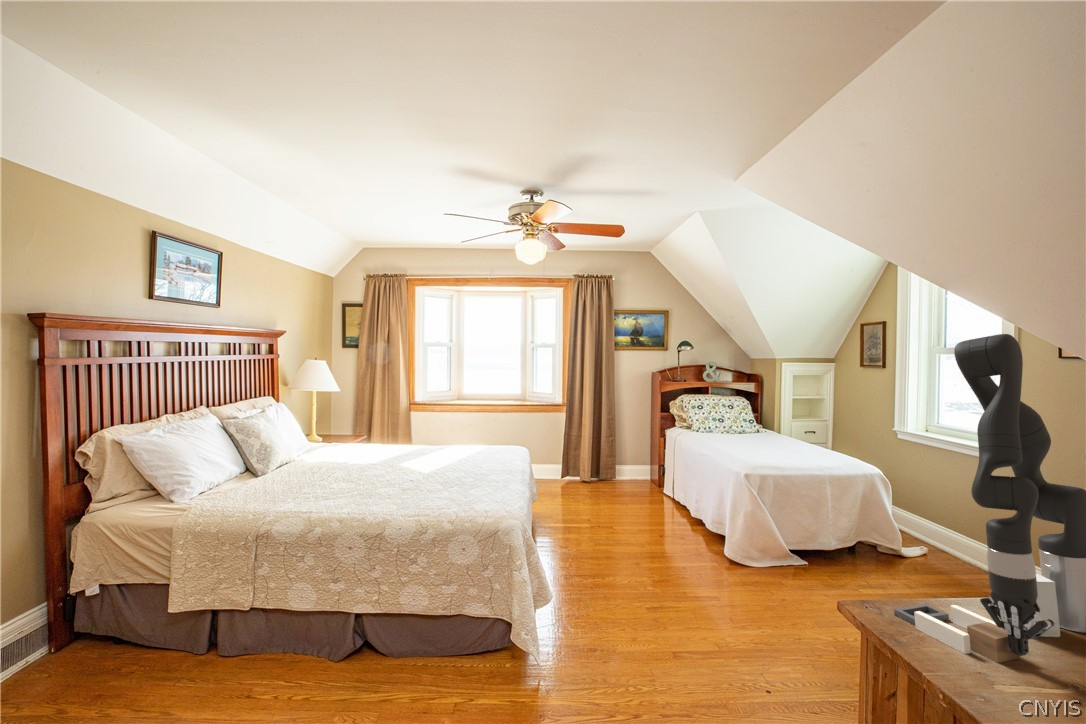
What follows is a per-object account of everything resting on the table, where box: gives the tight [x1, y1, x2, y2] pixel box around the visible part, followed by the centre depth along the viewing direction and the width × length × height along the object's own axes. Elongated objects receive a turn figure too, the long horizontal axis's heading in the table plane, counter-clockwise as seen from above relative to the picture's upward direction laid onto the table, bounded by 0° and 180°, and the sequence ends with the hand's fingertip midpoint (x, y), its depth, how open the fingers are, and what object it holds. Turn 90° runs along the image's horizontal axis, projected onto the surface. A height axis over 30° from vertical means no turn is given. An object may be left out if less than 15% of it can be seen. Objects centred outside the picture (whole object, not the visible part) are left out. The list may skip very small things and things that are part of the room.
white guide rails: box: [914, 604, 996, 655], centre depth 118 cm, size 12×12×4 cm
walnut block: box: [966, 622, 1021, 664], centre depth 111 cm, size 6×6×5 cm
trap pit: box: [893, 603, 950, 626], centre depth 128 cm, size 10×6×2 cm, turn 101°
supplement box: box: [1029, 572, 1061, 638], centre depth 120 cm, size 7×7×13 cm
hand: (1019, 653), depth 106 cm, fingers closed
